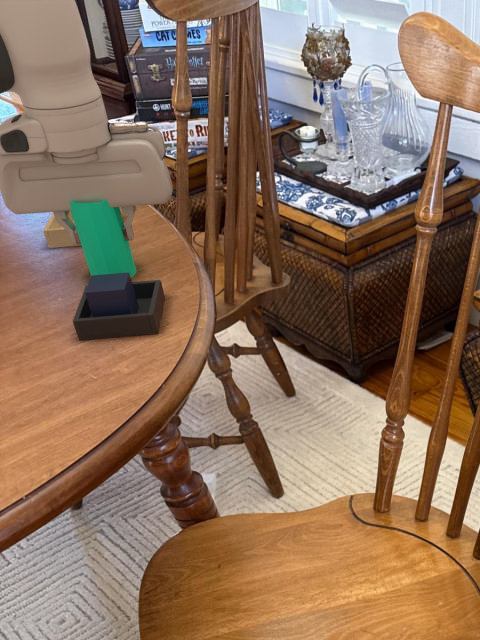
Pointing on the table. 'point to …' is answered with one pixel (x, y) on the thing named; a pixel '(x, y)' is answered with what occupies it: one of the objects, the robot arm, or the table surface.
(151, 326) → the slate tray
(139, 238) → the table surface
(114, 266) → the candle
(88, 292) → the navy block
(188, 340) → the table surface
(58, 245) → the cream tray
